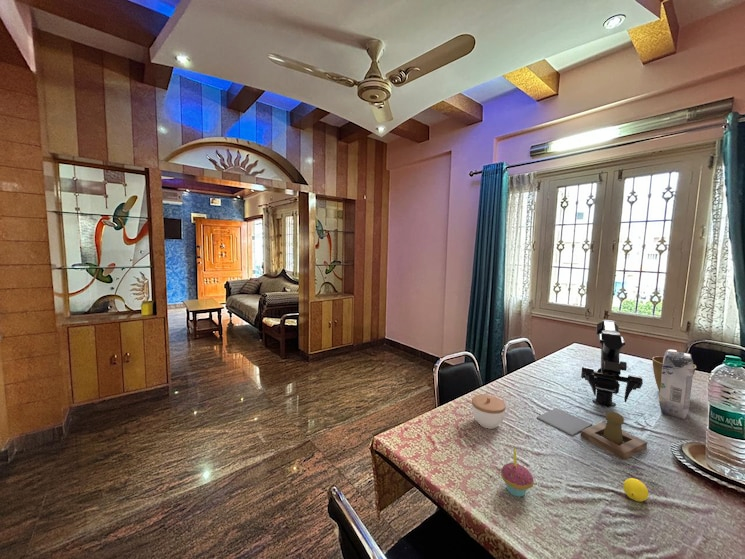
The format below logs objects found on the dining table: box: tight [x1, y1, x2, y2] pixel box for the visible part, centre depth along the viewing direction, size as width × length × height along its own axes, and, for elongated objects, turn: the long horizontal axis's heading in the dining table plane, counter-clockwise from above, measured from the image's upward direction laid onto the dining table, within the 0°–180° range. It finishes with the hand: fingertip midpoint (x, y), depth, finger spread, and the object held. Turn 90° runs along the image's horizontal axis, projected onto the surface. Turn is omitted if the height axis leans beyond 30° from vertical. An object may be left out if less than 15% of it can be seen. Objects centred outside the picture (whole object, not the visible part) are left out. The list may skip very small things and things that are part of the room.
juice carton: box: [658, 349, 694, 420], centre depth 129 cm, size 9×10×27 cm
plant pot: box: [652, 356, 697, 393], centre depth 146 cm, size 15×15×16 cm
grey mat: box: [536, 407, 593, 437], centre depth 124 cm, size 14×14×1 cm
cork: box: [602, 411, 625, 445], centre depth 110 cm, size 6×6×11 cm
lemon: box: [622, 477, 650, 502], centre depth 86 cm, size 7×5×5 cm
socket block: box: [579, 421, 648, 461], centre depth 111 cm, size 14×14×2 cm
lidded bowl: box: [471, 394, 507, 430], centre depth 122 cm, size 13×13×11 cm
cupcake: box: [500, 447, 534, 497], centre depth 89 cm, size 9×8×12 cm
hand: (609, 398), depth 117 cm, fingers open, 9 cm apart
